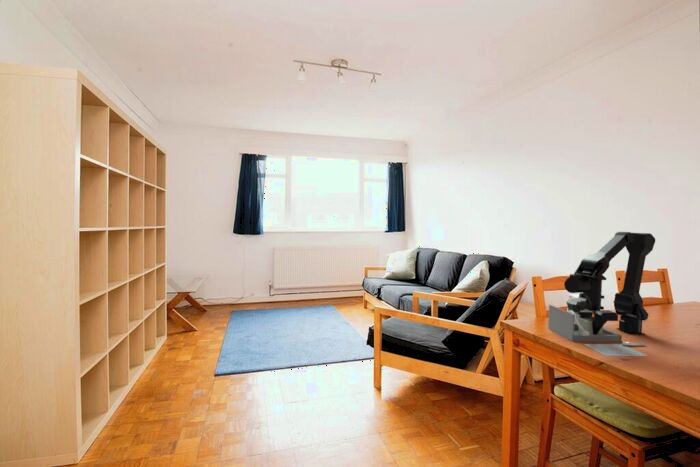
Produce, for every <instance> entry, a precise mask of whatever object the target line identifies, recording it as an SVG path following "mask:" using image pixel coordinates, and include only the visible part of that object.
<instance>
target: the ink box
mask: <svg viewBox="0 0 700 467" xmlns="http://www.w3.org/2000/svg"><path fill="white" fill-rule="evenodd" d="M579 294H580V293H568V295H567V296H568V297H567V301H569V300H571V299H574V298H578V297H579ZM566 309H567V310H566V311H567V312H569V313H572V314H574V315H575V318H576V320H577V321H578V322H579V318H580V317H579V315H578V314H577V313H576V312H574V311H572V310H569V309H568V307H567V308H566ZM574 324H576V323H575V321H574Z"/></svg>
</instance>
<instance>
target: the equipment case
mask: <svg viewBox="0 0 700 467" xmlns="http://www.w3.org/2000/svg"><path fill="white" fill-rule="evenodd" d="M574 321H575V323H576V324H574ZM547 323H548V330H550V331H552V332H554V333H556V334H558V335H559V336H561V337H563V338H565V339H567V340H569V341H570V342H613V343H614V342H617V343H618V342H620V343H621V342H622V335H620V334H619V333H617V332H613V331H611V330H610V329H607V328H604V327H603V333H602V335H589V332H588V331H585V330H584V329H583V327H582V326H581V325H580V323H579V322H578V321H577V320H576V318H575V315H574V314H572V313H569V312H567V310H564V309H562V308H560V307H557V306H554V305H552V304H549V306H548V322H547ZM578 327H579V328H580V329H581V330H582V331H581V334H578Z"/></svg>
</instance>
